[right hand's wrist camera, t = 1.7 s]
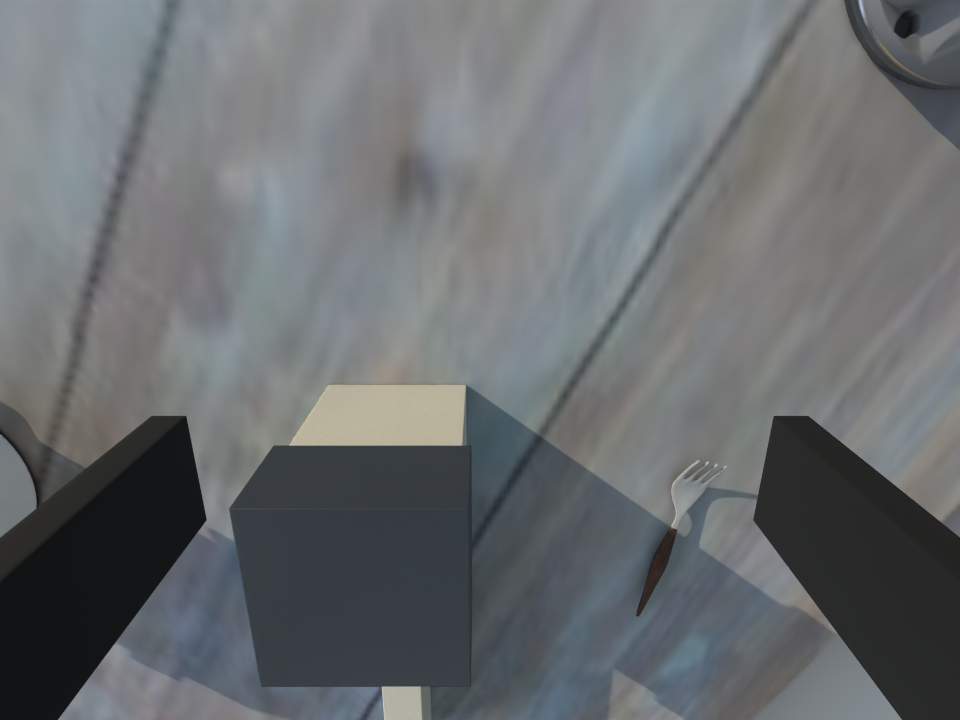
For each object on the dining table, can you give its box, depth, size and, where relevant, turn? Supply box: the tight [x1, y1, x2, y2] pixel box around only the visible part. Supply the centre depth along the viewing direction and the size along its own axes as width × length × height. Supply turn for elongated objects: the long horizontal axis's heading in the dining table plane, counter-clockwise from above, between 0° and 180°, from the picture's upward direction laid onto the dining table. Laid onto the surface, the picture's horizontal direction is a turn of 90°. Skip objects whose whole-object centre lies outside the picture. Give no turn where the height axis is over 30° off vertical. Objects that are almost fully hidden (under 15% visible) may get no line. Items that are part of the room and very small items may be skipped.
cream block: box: [289, 385, 467, 720], centre depth 42 cm, size 10×34×10 cm, turn 0°
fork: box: [636, 460, 727, 616], centre depth 44 cm, size 3×16×2 cm, turn 167°
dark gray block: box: [229, 446, 472, 687], centre depth 31 cm, size 11×11×6 cm
